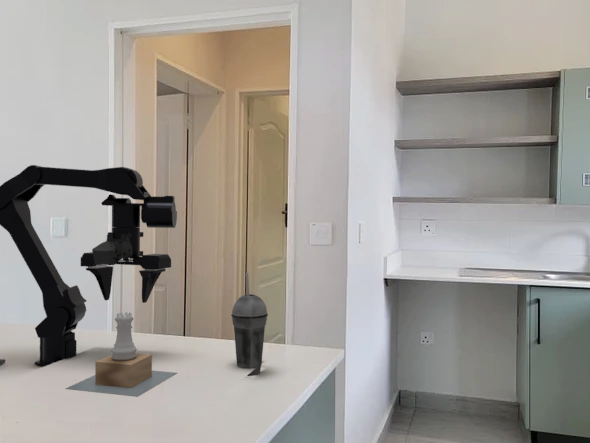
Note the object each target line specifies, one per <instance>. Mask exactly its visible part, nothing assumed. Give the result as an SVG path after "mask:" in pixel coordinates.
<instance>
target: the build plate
mask: <svg viewBox="0 0 590 443" xmlns="http://www.w3.org/2000/svg"><path fill="white" fill-rule="evenodd" d="M177 374H178V372H174V371H173V372H171V371H162V370H152V377H150V378H148V379H146V380H145V381H143V382H141V383H139V384H137V385H135V386H134V387H132V388H125V387H115V386H106V385H96V384H95V374H94V375H91V376H90V377H88V378H85V379H84V380H81V381H78V382H77V383H75V384H72V385H70V386H67V387H66V388H64V389H65V390H70V391H71V390H72V391H80V392H90V393H99V394H108V395H118V396H128V397H136V398H138V397H140V396H142V395H143V394H145V393H146V392H148V391H150V390H152V389H154V388H155V387H156V386H158V385H160V384H162V383H163V382H166V381H167V380H168V379H170V378H172V377H174V376H176V375H177Z"/></svg>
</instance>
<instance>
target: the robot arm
mask: <svg viewBox="0 0 590 443" xmlns="http://www.w3.org/2000/svg"><path fill="white" fill-rule="evenodd" d="M143 182H144V180H143V177H142V175H141V174H140V172H138V171H137V170H135V169H132V168H129V167H125V166H118V167H110V168H109V167H108V168H102V169H94V170H92V169H91V170H90V169H89V170H88V169H79V168H64V167H63V168H62V167H49V166H41V165H36V164H31V165H29V166H26V168H24V169H23V170H22V171H20V173H18V174H17V175H15V176H13V177H11V178H9V179H8V180H6V181H5V182H3V183H2V184H1V185H0V226H1V227H2V228H4V230H6V231H7V232H8V234H9V235H10V237H11V239H12V240H13V242H14V244H15V246H16V248H17V249H18V251H19V253H20V255H21V257H22V258H23V260H24V263H25V265H27V268H28V269H29V271H30V273H31V275H32V276H33V278H34V280H35V282H36V284H37V286H38V287H39V289H40V291H41V294H42V303H43V304H42V307H43V310H44V312H45V315H46V317H44V318H43V320H42V321H41V322H40V323H39V324H37V326H35V327H34V329H35V332H36V335H37V338H39V360H37V361H34V365H35V366H44V367H45V366H49V365H52V364H54V363H57V362H60V361H63V360H66V359H67V360H69V359H72V358H75V357H76V356H77V340H76V333H75V332H74V330H76V329H77V327H78V324H79V322H80V321H82V320H83V319H84V317H85V315H86V312H87V306H86V304H85V303H86V302H87V299H85V297H83V295H82V293H81V291H80V288H79V286H78V285H77V284H76V285H73V286H71V287H70V286H69V285H68V284H66V282H64V280H63V279H62V276H61V275H60V273H59V271H58V269H57V267H56V266H55V263H54V262H53V260H52V259H51V257H50V255H49V253H48V251H47V250H46V248H45V246H44V244H43V242H42V240H41V238H40V237H39V235H38V233H37V231H36V229H35V227H34V226H33V223H32V217H31V215H32V214H31V208H30V206H29V202H30V201H31V200H33V199H34V198H35V196H37V194H38V193H39V191H40V190H41V189H42V188H43V187H44V186H46V185H49V186H61V187H76V188H90V189H97V190H101V191H104V192H109V193H113V194H108V196H107V198H105V199H103V201H102V202H101V206H107V207H108V206H111V231H110V232H107V235H106V240H105V241H102V242H101V243H100V244H98V245H96V246H95V247H93V248H92V251H91V252H84V253H82V255H81V257H80V267H85V270H86V271H89V272H90V273H91V274H92V275H93V276H94V277H95V279H96V281H97V284H98V287H99V288H100V291H101V294H102V297H103V300H104V301H109V300H110V296H111V292H112V283H113V272H114V265H120V266H121V265H125V266H126V265H128V266H140V267H141V268H142V270H139V271H138V273H139V274H140V276H141V302H142V303H143V304H144V303H147V301H148V300H149V297H150V295H151V294H152V291H153V289H154V286H155V284H157V281H158V279H159V278H160V275H161V274H162V273H164V272H166V269H169V268H172V259H171V257H170V255H169V254H168V253H167V254H166V253H149V254H144V250H141V238H143V237H144V232H143V231H141V222H142V223H143V224H145V225H146V227H147V228H151V229H152V228H153V229H156V228H158V229H160V228H164V229H165V228H168V229H170V228H171V229H175V228H176V226H177V220H178V219H177V218H178V212H177V207H176V201H175V196H174V195H164V196H152V195H151V194H150V192H149V191H148V190H147V188H145V186H144V185H143ZM114 194H116V195H123V196H128V197H116V196H115V195H114ZM130 198H131V199H132V200H137V201H143V203H137V202H134V203H133V202H132V200H131V199H130Z"/></svg>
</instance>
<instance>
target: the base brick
mask: <svg viewBox="0 0 590 443" xmlns="http://www.w3.org/2000/svg"><path fill="white" fill-rule="evenodd" d="M136 354H137V356H136V357H135V358H134V359H132V360H127V361H116V360H113V358H112V357H111V356H112V355H113V354H111V355H108V356H105V357H104V358H101V359H98V360H97V361H95V364H94V365H95V367H94V368H95V369H94V370H95V374H94V375H95V384H96V385H106V386H115V387H125V388H132V387H134V386H135V385H137V384H139V383H141V382H143V381H145V380H146V379H148V378H150V377H152V369H153V368H152V367H153V364H152V363H153V355H152V354H147V353H145V354H144V353H136Z"/></svg>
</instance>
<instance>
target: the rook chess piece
mask: <svg viewBox="0 0 590 443" xmlns="http://www.w3.org/2000/svg"><path fill="white" fill-rule="evenodd" d="M114 320H115V322H116V323H117V324H116V327H115V328H116V340H115V344H113V345H114V346H113V347H112V348H111V355H112V356H111V357H112V358H113V360H116V361H127V360H132V359H134V358H135V357H136V356H137V354H138V353H136V351H137V347H136V346H135V344H134V342H133V337H132V328H133V326H132V322H133V321H134V317H133V316H132V313H131V312H124V313H123V312H118V313H116V317H115V318H114Z"/></svg>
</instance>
